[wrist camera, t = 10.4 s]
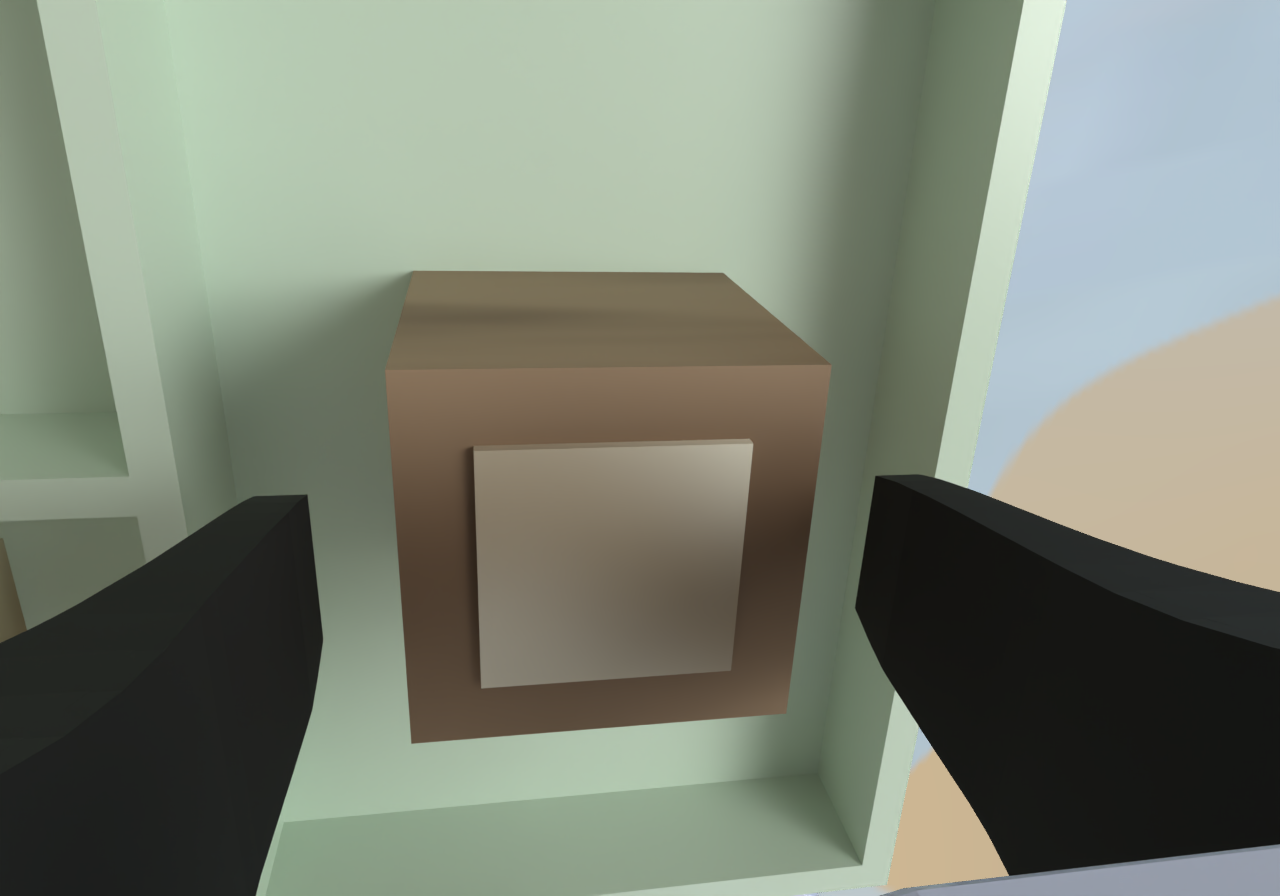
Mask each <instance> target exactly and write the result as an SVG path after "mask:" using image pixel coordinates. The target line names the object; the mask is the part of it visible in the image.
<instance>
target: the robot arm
mask: <svg viewBox="0 0 1280 896" xmlns="http://www.w3.org/2000/svg"><path fill="white" fill-rule="evenodd" d="M855 610H856V612H857V614H858V617H859V619H860V621H861V624H862V626H863V628H864V631H865V633H866V636H867V638H868V640H869V642H870V645H871V647H872V649H873V651H874V653H875V655H876V657H877V659H878V661H879V663H880V666H881V668H882V669H883V671H884V673H885V674H886V676H887V678H888V679H889V681H890V682H891V684H892V686H893V687H894V689H895V690H896V692H897V693H898V695H899V697H900V698H901V700H902V701H903V703H904V704H905V706H906V707H907V709H908V711H909V712H910V714H911V715H912V717H913V718H914V720H915V721H916V723H917V724H918V726H919V727H920V729H921V730H922V732H923V733H924V735H925V736H926V738H927V740H928V741H929V743H930V744H931V746H932V747H933V749H934V750H935V752H936V753H937V755H938V756H939V758H940V759H941V761H942V762H943V764H944V765H945V767H946V768H947V770H948V771H949V773H950V774H951V776H952V777H953V779H954V781H955V782H956V784H957V785H958V786H959V788H960V790H961V791H962V792H963V794H964V796H965V797H966V799H967V800H968V802H969V803H970V805H971V807H972V808H973V810H974V812H975V813H976V815H977V817H978V818H979V820H980V822H981V823H982V825H983V827H984V828H985V830H986V832H987V834H988V835H989V837H990V839H991V841H992V843H993V845H994V847H995V849H996V851H997V853H998V854H999V856H1000V859H1001V861H1002V862H1003V864H1004V866H1005V868H1006V870H1007V872H1008V874H1009V876H1005V877H996V878H988V879H980V880H971V881H962V882H954V883H945V884H937V885H928V886H920V887H911V888H903V889H900V890H897V891H894V892H890V893H887V894H884V895H881V896H1280V592H1276V591H1272V590H1268V589H1264V588H1260V587H1256V586H1252V585H1248V584H1243V583H1240V582H1236V581H1232V580H1229V579H1225V578H1221V577H1218V576H1214V575H1211V574H1207V573H1204V572H1200V571H1196V570H1193V569H1189V568H1186V567H1182V566H1178V565H1175V564H1172V563H1169V562H1166V561H1162V560H1159V559H1156V558H1153V557H1150V556H1146V555H1143V554H1141V553H1138V552H1135V551H1132V550H1129V549H1126V548H1124V547H1121V546H1118V545H1115V544H1112V543H1109V542H1106V541H1103V540H1100V539H1098V538H1095V537H1092V536H1090V535H1087V534H1084V533H1081V532H1079V531H1076V530H1073V529H1071V528H1068V527H1065V526H1063V525H1060V524H1057V523H1055V522H1052V521H1050V520H1047V519H1045V518H1042V517H1040V516H1037V515H1035V514H1032V513H1029V512H1027V511H1024V510H1022V509H1019V508H1017V507H1014V506H1012V505H1009V504H1007V503H1004V502H1002V501H999V500H996V499H994V498H991V497H989V496H986V495H984V494H981V493H978V492H976V491H973V490H970V489H968V488H965V487H962V486H959V485H956V484H953V483H950V482H947V481H944V480H941V479H937V478H934V477H929V476H925V475H920V474H909V475H879V476H875V482H874V488H873V494H872V501H871V507H870V514H869V520H868V527H867V533H866V539H865V546H864V552H863V559H862V565H861V571H860V578H859V584H858V591H857V597H856V604H855ZM322 646H323V631H322V622H321V613H320V604H319V595H318V586H317V576H316V567H315V558H314V549H313V540H312V531H311V522H310V513H309V504H308V495H307V494H305V495H275V496H253V497H251V498H249V499H247V500H245V501H243V502H241V503H239V504H238V505H236V506H234V507H233V508H231V509H229V510H228V511H226V512H225V513H223V514H222V515H220V516H219V517H217V518H215V519H214V520H212V521H211V522H209V523H208V524H206V525H205V526H203V527H202V528H200V529H199V530H197V531H196V532H194V533H193V534H191V535H190V536H188V537H187V538H185V539H184V540H182V541H180V542H179V543H177V544H176V545H174V546H173V547H171V548H170V549H168V550H167V551H165V552H164V553H162V554H161V555H159V556H157V557H156V558H154V559H153V560H151V561H150V562H148V563H147V564H145V565H143V566H142V567H140V568H138V569H136V570H135V571H133V572H131V573H130V574H128V575H126V576H125V577H123V578H121V579H119V580H118V581H116V582H114V583H113V584H111V585H109V586H108V587H106V588H104V589H102V590H101V591H99V592H97V593H96V594H94V595H92V596H91V597H89V598H87V599H85V600H84V601H82V602H80V603H79V604H77V605H75V606H73V607H71V608H70V609H68V610H66V611H64V612H62V613H60V614H58V615H56V616H55V617H53V618H51V619H49V620H47V621H45V622H43V623H41V624H39V625H37V626H35V627H33V628H31V629H29V630H27V631H25V632H22V633H20V634H18V635H16V636H14V637H12V638H10V639H8V640H5V641H3V642H1V643H0V896H256V893H257V889H258V885H259V882H260V878H261V874H262V871H263V868H264V864H265V861H266V858H267V855H268V852H269V848H270V845H271V842H272V839H273V836H274V833H275V829H276V826H277V823H278V820H279V817H280V813H281V810H282V807H283V804H284V801H285V797H286V794H287V791H288V788H289V785H290V782H291V778H292V775H293V772H294V769H295V766H296V762H297V759H298V756H299V753H300V749H301V746H302V743H303V739H304V736H305V733H306V730H307V726H308V723H309V719H310V716H311V713H312V709H313V703H314V697H315V691H316V685H317V680H318V673H319V666H320V660H321V653H322ZM795 896H819V895H818V893H812V894H803V895H795Z"/></svg>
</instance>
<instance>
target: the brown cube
mask: <svg viewBox="0 0 1280 896" xmlns="http://www.w3.org/2000/svg"><path fill="white" fill-rule="evenodd" d="M831 367H832V365H831V364H830V363H829V362H828V361H827V360H826V359H824V358H823V357H822V356H821V355H820V354H818V353H817V352H816V351H815V350H814V349H813V348H811V347H810V346H809V345H808V344H807V343H805V342H804V341H803V340H802V339H801V338H800V337H798V336H797V335H796V334H795V333H794V332H792V331H791V330H790V329H789V328H788V327H787V326H785V325H784V324H783V323H782V322H781V321H779V320H778V319H777V318H776V317H775V316H774V315H772V314H771V313H770V312H769V311H768V310H766V309H765V308H764V307H763V306H762V305H761V304H759V303H758V302H757V301H756V300H755V299H754V298H752V297H751V296H750V295H749V294H748V293H746V292H745V291H744V290H743V289H742V288H741V287H739V286H738V285H737V284H736V283H735V282H733V281H732V280H731V279H730V278H729V277H728V276H726V275H725V274H724V273H690V272H541V271H413V273H412V277H411V280H410V284H409V287H408V291H407V294H406V298H405V301H404V305H403V308H402V312H401V315H400V319H399V322H398V326H397V329H396V333H395V336H394V340H393V343H392V347H391V350H390V354H389V357H388V361H387V364H386V368H385V379H386V393H387V407H388V421H389V435H390V449H391V463H392V478H393V492H394V506H395V520H396V534H397V548H398V562H399V577H400V591H401V605H402V619H403V633H404V647H405V661H406V675H407V690H408V704H409V718H410V732H411V744H415V743H428V742H440V741H452V740H465V739H477V738H490V737H502V736H514V735H527V734H539V733H552V732H564V731H576V730H589V729H601V728H614V727H626V726H638V725H651V724H663V723H676V722H688V721H700V720H713V719H725V718H738V717H750V716H762V715H775V714H786V712H787V704H788V696H789V689H790V681H791V673H792V666H793V658H794V650H795V643H796V635H797V627H798V620H799V612H800V604H801V597H802V589H803V581H804V574H805V566H806V558H807V551H808V543H809V536H810V528H811V520H812V513H813V505H814V497H815V490H816V482H817V474H818V467H819V459H820V451H821V444H822V436H823V428H824V421H825V413H826V405H827V398H828V390H829V382H830V375H831Z"/></svg>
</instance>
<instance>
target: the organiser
mask: <svg viewBox="0 0 1280 896" xmlns="http://www.w3.org/2000/svg"><path fill="white" fill-rule="evenodd" d="M1066 1H1067V0H0V538H3V540H4V544H5V548H6V552H7V556H8V560H9V563H10V567H11V571H12V575H13V579H14V582H15V586H16V590H17V594H18V598H19V601H20V605H21V609H22V613H23V617H24V621H25V624H26V628H27V630H29V629H31V628H33V627H35V626H37V625H39V624H41V623H43V622H45V621H47V620H49V619H51V618H53V617H55V616H56V615H58V614H60V613H62V612H64V611H66V610H68V609H70V608H71V607H73V606H75V605H77V604H79V603H80V602H82V601H84V600H85V599H87V598H89V597H91V596H92V595H94V594H96V593H97V592H99V591H101V590H102V589H104V588H106V587H108V586H109V585H111V584H113V583H114V582H116V581H118V580H119V579H121V578H123V577H125V576H126V575H128V574H130V573H131V572H133V571H135V570H136V569H138V568H140V567H142V566H143V565H145V564H147V563H148V562H150V561H151V560H153V559H154V558H156V557H157V556H159V555H161V554H162V553H164V552H165V551H167V550H168V549H170V548H171V547H173V546H174V545H176V544H177V543H179V542H180V541H182V540H184V539H185V538H187V537H188V536H190V535H191V534H193V533H194V532H196V531H197V530H199V529H200V528H202V527H203V526H205V525H206V524H208V523H209V522H211V521H212V520H214V519H215V518H217V517H219V516H220V515H222V514H223V513H225V512H226V511H228V510H229V509H231V508H233V507H234V506H236V505H238V504H239V503H241V502H243V501H245V500H247V499H249V498H251V497H253V496H275V495H305V494H307V495H308V504H309V513H310V522H311V531H312V540H313V549H314V558H315V567H316V576H317V586H318V595H319V604H320V613H321V622H322V631H323V646H322V653H321V660H320V666H319V673H318V680H317V685H316V691H315V697H314V703H313V709H312V713H311V716H310V719H309V723H308V726H307V730H306V733H305V736H304V739H303V743H302V746H301V749H300V753H299V756H298V759H297V762H296V766H295V769H294V772H293V775H292V778H291V782H290V785H289V788H288V791H287V794H286V797H285V801H284V804H283V807H282V810H281V813H280V817H279V820H278V823H277V826H276V829H275V833H274V836H273V839H272V842H271V845H270V848H269V852H268V855H267V858H266V861H265V864H264V868H263V871H262V874H261V878H260V882H259V885H258V889H257V893H256V896H795V895H803V894H812V893H820V892H829V891H838V890H846V889H855V888H863V887H872V886H880V885H887V881H888V876H889V871H890V866H891V861H892V856H893V851H894V846H895V841H896V837H897V832H898V827H899V822H900V817H901V812H902V807H903V802H904V797H905V792H906V787H907V783H908V778H909V773H910V768H911V763H912V758H913V753H914V748H915V743H916V738H917V733H918V729H919V726H918V724H917V723H916V721H915V720H914V718H913V717H912V715H911V714H910V712H909V711H908V709H907V707H906V706H905V704H904V703H903V701H902V700H901V698H900V697H899V695H898V693H897V692H896V690H895V689H894V687H893V686H892V684H891V682H890V681H889V679H888V678H887V676H886V674H885V673H884V671H883V669H882V668H881V666H880V663H879V661H878V659H877V657H876V655H875V653H874V651H873V649H872V647H871V645H870V642H869V640H868V638H867V636H866V633H865V631H864V628H863V626H862V624H861V621H860V619H859V617H858V614H857V612H856V610H855V604H856V597H857V591H858V584H859V578H860V571H861V565H862V559H863V552H864V546H865V539H866V533H867V527H868V520H869V514H870V507H871V501H872V494H873V488H874V482H875V476H879V475H909V474H920V475H925V476H929V477H934V478H937V479H941V480H944V481H947V482H950V483H953V484H956V485H959V486H962V487H965V488H968V483H969V478H970V473H971V468H972V463H973V458H974V453H975V448H976V443H977V439H978V434H979V429H980V424H981V419H982V414H983V409H984V404H985V399H986V394H987V389H988V384H989V380H990V375H991V370H992V365H993V360H994V355H995V350H996V345H997V340H998V335H999V330H1000V325H1001V321H1002V316H1003V311H1004V306H1005V301H1006V296H1007V291H1008V286H1009V281H1010V276H1011V271H1012V266H1013V262H1014V257H1015V252H1016V247H1017V242H1018V237H1019V232H1020V227H1021V222H1022V217H1023V212H1024V208H1025V203H1026V198H1027V193H1028V188H1029V183H1030V178H1031V173H1032V168H1033V163H1034V158H1035V153H1036V149H1037V144H1038V139H1039V134H1040V129H1041V124H1042V119H1043V114H1044V109H1045V104H1046V99H1047V94H1048V90H1049V85H1050V80H1051V75H1052V70H1053V65H1054V60H1055V55H1056V50H1057V45H1058V40H1059V35H1060V31H1061V26H1062V21H1063V16H1064V11H1065V6H1066ZM413 271H541V272H690V273H724V274H725V275H726V276H728V277H729V278H730V279H731V280H732V281H733V282H735V283H736V284H737V285H738V286H739V287H741V288H742V289H743V290H744V291H745V292H746V293H748V294H749V295H750V296H751V297H752V298H754V299H755V300H756V301H757V302H758V303H759V304H761V305H762V306H763V307H764V308H765V309H766V310H768V311H769V312H770V313H771V314H772V315H774V316H775V317H776V318H777V319H778V320H779V321H781V322H782V323H783V324H784V325H785V326H787V327H788V328H789V329H790V330H791V331H792V332H794V333H795V334H796V335H797V336H798V337H800V338H801V339H802V340H803V341H804V342H805V343H807V344H808V345H809V346H810V347H811V348H813V349H814V350H815V351H816V352H817V353H818V354H820V355H821V356H822V357H823V358H824V359H826V360H827V361H828V362H829V363H830V364H831V365H832V367H831V375H830V382H829V390H828V398H827V405H826V413H825V421H824V428H823V436H822V444H821V451H820V459H819V467H818V474H817V482H816V490H815V497H814V505H813V513H812V520H811V528H810V536H809V543H808V551H807V558H806V566H805V574H804V581H803V589H802V597H801V604H800V612H799V620H798V627H797V635H796V643H795V650H794V658H793V666H792V673H791V681H790V689H789V696H788V704H787V712H786V714H775V715H762V716H750V717H738V718H725V719H713V720H700V721H688V722H676V723H663V724H651V725H638V726H626V727H614V728H601V729H589V730H576V731H564V732H552V733H539V734H527V735H514V736H502V737H490V738H477V739H465V740H452V741H440V742H428V743H415V744H411V732H410V718H409V704H408V690H407V675H406V661H405V647H404V633H403V619H402V605H401V591H400V577H399V562H398V548H397V534H396V520H395V506H394V492H393V478H392V463H391V449H390V435H389V421H388V407H387V393H386V379H385V368H386V364H387V361H388V357H389V354H390V350H391V347H392V343H393V340H394V336H395V333H396V329H397V326H398V322H399V319H400V315H401V312H402V308H403V305H404V301H405V298H406V294H407V291H408V287H409V284H410V280H411V277H412V273H413Z"/></svg>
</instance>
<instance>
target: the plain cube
mask: <svg viewBox="0 0 1280 896" xmlns="http://www.w3.org/2000/svg"><path fill="white" fill-rule="evenodd" d="M25 631H27V628H26V624H25V621H24V617H23V613H22V609H21V605H20V601H19V598H18V594H17V590H16V586H15V582H14V579H13V575H12V571H11V567H10V563H9V560H8V556H7V552H6V548H5V544H4V540H3V538H0V643H1V642H3V641H5V640H8V639H10V638H12V637H14V636H16V635H18V634H20V633H22V632H25Z"/></svg>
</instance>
